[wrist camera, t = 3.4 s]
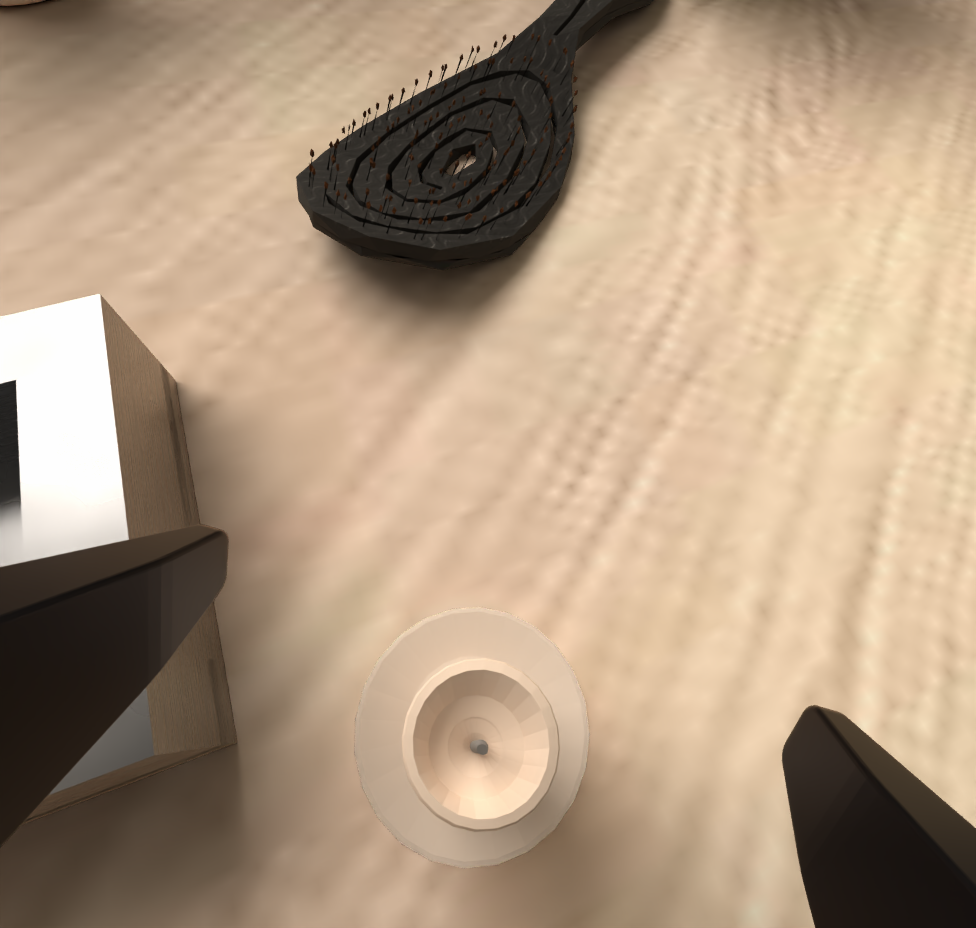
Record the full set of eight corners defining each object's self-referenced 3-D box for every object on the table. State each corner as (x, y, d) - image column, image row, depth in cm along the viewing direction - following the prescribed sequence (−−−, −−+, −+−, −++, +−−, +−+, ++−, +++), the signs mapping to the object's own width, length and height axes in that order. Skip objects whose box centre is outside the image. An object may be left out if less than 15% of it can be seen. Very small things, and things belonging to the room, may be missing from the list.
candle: (499, 894, 13) (613, 1469, 3) (321, 753, 14) (-8, 858, 4) (607, 688, 14) (885, 650, 5) (444, 577, 15) (416, 369, 6)
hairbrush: (742, -62, 26) (446, 257, 15) (708, 29, 29) (446, 342, 19) (584, -115, 27) (219, 143, 17) (570, -23, 30) (256, 240, 20)
